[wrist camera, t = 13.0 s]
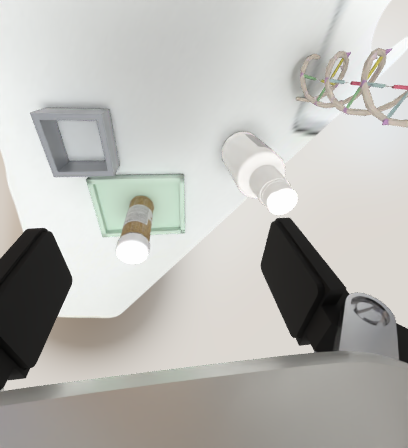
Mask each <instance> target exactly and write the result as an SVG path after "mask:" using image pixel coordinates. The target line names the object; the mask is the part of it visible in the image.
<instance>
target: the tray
mask: <svg viewBox="0 0 408 448" xmlns="http://www.w3.org/2000/svg"><path fill="white" fill-rule="evenodd" d="M86 181H87V185H88V188H89V192H90V195H91V198H92V202H93V205H94V209H95V212H96V216H97V219H98V223H99V226H100V230H101V233H102V237H117V236H121V234H122V228H123V225H124V222H125V218H126V215H127V212H128V210H129V205H130V201H131V200H132V199H133V198H134V197H136V196H145V197H148V198H149V199H150V200H151V201H152V202H153V204H154V210H153V219H152V227H151V233H150V235H159V234H179V233H185V215H184V175H183V174H156V175H115V176H92V177H88V178H87V179H86Z"/></svg>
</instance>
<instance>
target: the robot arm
mask: <svg viewBox="0 0 408 448" xmlns="http://www.w3.org/2000/svg"><path fill="white" fill-rule="evenodd" d="M261 270H262V272H263V275H264V277H265V279H266V281H267V283H268V286H269V288H270V290H271V292H272V294H273V297H274V299H275V301H276V303H277V306H278V308H279V310H280V312H281V314H282V317H283V319H284V321H285V323H286V326H287V328H288V330H289V332H290V334H291V336H292V337H293V338H296V340H297V342H298V344H299V345H309V344H311V345H312V347H313V349H314V353H308V354H298V355H288V356H279V357H270V358H261V359H253V360H245V361H236V362H228V363H219V364H211V365H203V366H195V367H186V368H179V369H171V370H162V371H154V372H147V373H139V374H131V375H122V376H114V377H107V378H98V379H91V380H83V381H76V382H68V383H59V384H52V385H44V386H36V387H29V388H22V389H15V390H8V391H4V388H3V387H4V386H5V383H6V382H7V380H14V379H23V378H26V376H27V374H28V372H29V369H30V368H32V367H34V366H35V364H36V362H37V361H38V358H39V356H40V354H41V352H42V349H43V347H44V345H45V343H46V340H47V338H48V336H49V334H50V332H51V329H52V327H53V325H54V323H55V320H56V318H57V316H58V314H59V312H60V309H61V307H62V305H63V303H64V300H65V298H66V296H67V294H68V291H69V289H70V287H71V285H72V276H71V274H70V271H69V269H68V267H67V265H66V262H65V260H64V258H63V256H62V254H61V251H60V249H59V247H58V245H57V242H56V240H55V238H54V236H53V234H52V232H50V231H48V230H47V229H45V228H35V229H27V230H25V231H24V233H23V234H22V235H21V236H20V237H19V238H18V239H17V241H16V242H15V243H14V244H13V245H12V246H11V247H10V249H9V250H8V251H7V252H6V253H5V254H4V255H3V256H2V258H1V259H0V448H408V329H407V328H405V327H403V326H401V325H399V324H397V323H396V320H395V317H394V315H393V313H392V312H391V310H390V309H389V308H388V307H387V306H386V305H385V304H384V303H382V302H381V301H379V300H378V299H376V298H374V297H372V296H370V295H367V294H364V293H351V294H349V293H348V292H347V290H346V287H345V286H344V285H343V283H342V282H341V281H340V280H339V278H338V277H337V276H336V275H335V273H334V272H333V271H332V270H331V268H330V267H329V266H328V265H327V263H326V262H325V261H324V260H323V258H322V257H321V256H320V255H319V253H318V252H317V251H316V250H315V248H314V247H313V246H312V245H311V243H310V242H309V241H308V240H307V238H306V237H305V236H304V235H303V233H302V232H301V231H300V230H299V228H298V227H297V226H296V225H295V223H294V222H293V221H292V220H291V219H290V218H277V219H276V220H275V221H274V222H272V223H271V226H270V230H269V234H268V238H267V242H266V246H265V250H264V254H263V258H262V261H261Z"/></svg>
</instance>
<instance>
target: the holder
mask: <svg viewBox="0 0 408 448" xmlns="http://www.w3.org/2000/svg"><path fill="white" fill-rule="evenodd" d="M30 114H31V117H32V120H33V122H34V125H35V128H36V130H37V133H38V136H39V138H40V141H41V144H42V146H43V149H44V152H45V154H46V157H47V160H48V162H49V165H50V168H51V170H52V173H53V176H54V177H92V176H115V174H116V172H117V170H118V168H119V166H120V164H119V159H118V153H117V148H116V143H115V137H114V132H113V127H112V121H111V116H110V111H109V109H92V108H43V109H40V110H37V111H34V112H31V113H30ZM56 120H83V121H97V124H98V129H99V133H100V138H101V142H102V147H103V151H104V156H105V160H106V161H69V159H68V156H67V153H66V150H65V147H64V144H63V140H62V137H61V134H60V131H59V128H58V125H57V122H56Z"/></svg>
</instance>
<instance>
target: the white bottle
mask: <svg viewBox="0 0 408 448" xmlns="http://www.w3.org/2000/svg"><path fill="white" fill-rule="evenodd" d="M222 160H223V162H224V164H225V165H226V167H227V169H228V171H229V173H230V174H231V176H232V178H233V180H234V181H235V183H236V185H237V187H238V188H239V190H240V192H242V193H243V194H244V195H245V196H247V197H250V198H258V199H259V200H260V202H261V203H262V204H263V205H264V206H266V207H267V209H268V210H269V211H270V212H271V213H272V214H275V215H282V214H286V213H288V212H289V211H291V210H292V209H293V208H294V207H295V205H296V203H297V200H298V196H297V193H296V192H295V191H294V189H292V188H291V185H290V183H289V182H288V181H287V180H286V179H285V178H284V177H285V165H284V162H283V159H282V158H281V157H280V156H279V155H278V154H277V153H276V152H274V151H273V150H272V149H271V148H269V147H268V146H267V145H266V144H264V143H263V142H262V141H261V140H259V139H258V138H257V137H256V136H254V135H253V134H251V133H249V132H238V133H235V134H233V135H232V136H230V137H229V138H228V139H227V140H226V141H225V143H224V145H223V148H222Z"/></svg>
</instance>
